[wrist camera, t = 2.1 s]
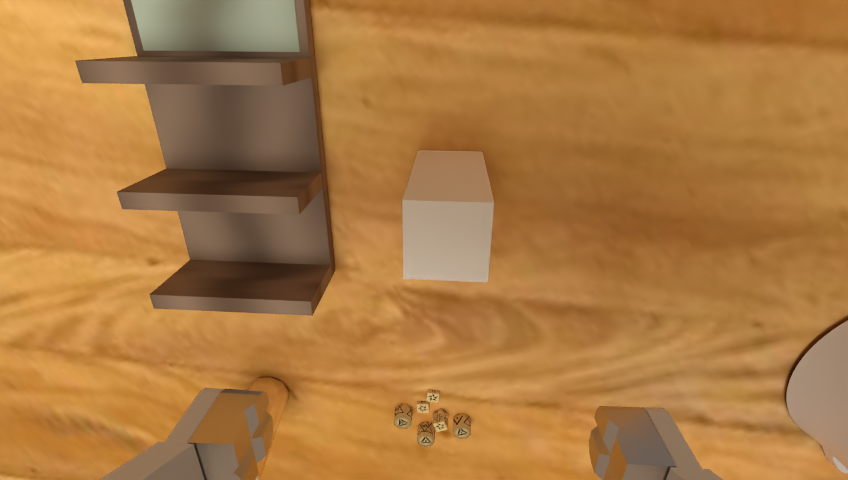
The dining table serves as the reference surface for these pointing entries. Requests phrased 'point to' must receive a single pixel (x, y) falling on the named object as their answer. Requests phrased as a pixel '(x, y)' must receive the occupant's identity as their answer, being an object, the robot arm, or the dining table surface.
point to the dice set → (439, 420)
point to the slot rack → (233, 150)
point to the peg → (447, 217)
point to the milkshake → (271, 407)
